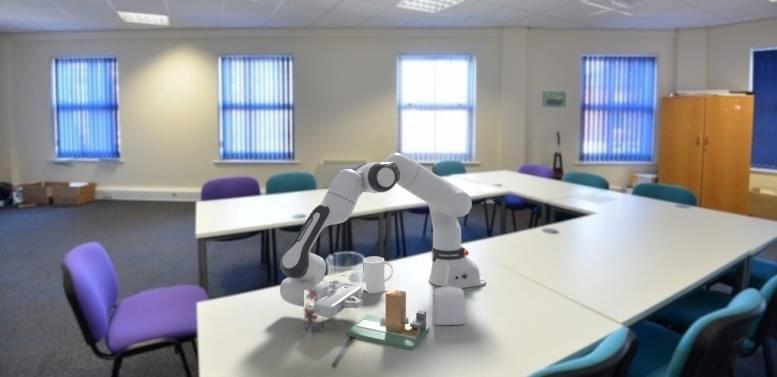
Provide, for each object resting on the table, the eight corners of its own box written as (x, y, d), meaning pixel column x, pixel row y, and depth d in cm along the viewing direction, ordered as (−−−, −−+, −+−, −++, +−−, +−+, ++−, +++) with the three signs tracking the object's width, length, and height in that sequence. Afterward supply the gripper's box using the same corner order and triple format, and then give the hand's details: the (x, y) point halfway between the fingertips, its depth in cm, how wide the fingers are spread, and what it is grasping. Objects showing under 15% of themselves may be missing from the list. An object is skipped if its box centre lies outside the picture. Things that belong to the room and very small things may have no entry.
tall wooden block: (385, 330, 150) (385, 293, 148) (391, 325, 153) (391, 289, 151) (415, 336, 145) (415, 299, 143) (420, 331, 149) (420, 294, 147)
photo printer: (433, 326, 156) (433, 289, 154) (431, 320, 160) (432, 284, 158) (464, 326, 156) (465, 289, 154) (463, 320, 160) (463, 284, 158)
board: (346, 335, 150) (346, 315, 149) (367, 317, 163) (367, 299, 162) (412, 350, 141) (412, 329, 140) (429, 330, 153) (429, 311, 152)
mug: (391, 284, 193) (391, 255, 191) (395, 292, 185) (394, 261, 183) (362, 285, 191) (361, 256, 189) (364, 294, 183) (363, 263, 181)
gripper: (305, 299, 150) (343, 306, 145) (339, 278, 169) (374, 284, 163) (305, 318, 151) (344, 326, 146) (339, 295, 170) (374, 302, 164)
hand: (360, 304), depth 154 cm, fingers closed
